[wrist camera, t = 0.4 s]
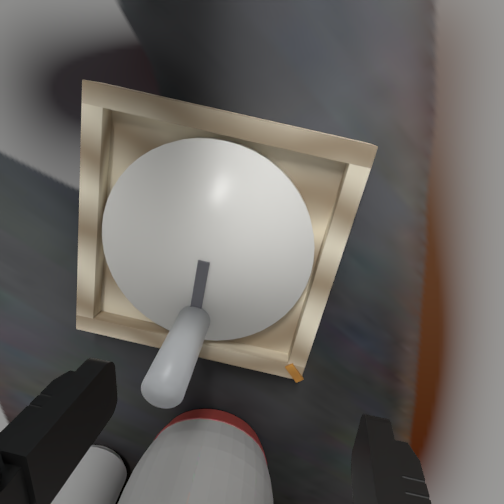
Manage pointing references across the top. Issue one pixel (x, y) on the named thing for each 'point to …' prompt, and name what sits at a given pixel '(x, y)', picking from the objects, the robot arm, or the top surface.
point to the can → (94, 479)
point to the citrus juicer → (202, 463)
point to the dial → (205, 249)
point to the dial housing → (234, 129)
